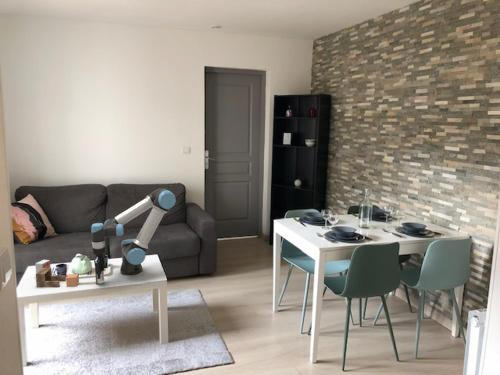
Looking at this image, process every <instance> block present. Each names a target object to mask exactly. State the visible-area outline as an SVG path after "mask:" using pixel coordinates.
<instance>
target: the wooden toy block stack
mask: <svg viewBox="0 0 500 375" xmlns="http://www.w3.org/2000/svg"><path fill="white" fill-rule="evenodd" d="M66 277H67V275H53V272H52V267H51V268H43V269H42V270H40V271H39V272H38V273H36V272H35V283H36V288H60V286H61V284H60V283H61V282H66Z"/></svg>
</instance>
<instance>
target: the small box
mask: <svg viewBox="0 0 500 375" xmlns="http://www.w3.org/2000/svg"><path fill="white" fill-rule="evenodd" d="M34 264H35V274H36V273H38V272H39V271H40V270H42V269H43V268H51V269H52V266H51V260H49V259H42V260H39V261H37V262H35V263H34Z"/></svg>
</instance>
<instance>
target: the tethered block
mask: <svg viewBox="0 0 500 375" xmlns="http://www.w3.org/2000/svg"><path fill="white" fill-rule="evenodd" d="M79 278H80V277H79V274H78V273H74V274H73V273H72V274H71V273H70V274H68V275H66V281H65V283H66V287H71V288H72V287H77V286H78V285H88V284H96V285H101V284H102V283H98V281H97V274H95V281H81V282H80V279H79Z"/></svg>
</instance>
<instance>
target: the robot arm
mask: <svg viewBox="0 0 500 375" xmlns="http://www.w3.org/2000/svg"><path fill="white" fill-rule="evenodd" d="M176 199H177V198H176V195H175V194H174V193H173V192H172V191H171V190H168V189H166V188H165V187H164V188H163V187H161V188H157V189H155V190H154V191H152V192H151V193H149V194H147V195H146V196H145V198H144V199H142V200H140V201H138V202H137V203H135V204H134V205H132V206H131V207H129V208H128V209H126V210H124V211H123V212H121V213H119V214H117V215H116V216H114V217H113V218H111V219H107V220H105V221H104V223H101V222H96V223H92V225H91V231H90V232H91V245H92V254H93V255H95V256H94V257H95V258H94V260H93V263H94V270H95V271H94V272H95V274H97V281H98V283H101V284H103V282H104V281H105V274H104V273H105V271H106V267H105V266H106V263H105V256H106V255H105V254H106V248H105V247H106V243H105V239H107V238H114V237H120V236H123V235H124V225H126V224H127V223H128V222H130V221H132V220H133V219H135V218H137V217H138V216H140V215H141V214H143V213H144V212H146V211H147V210H149V209H151V208H152V209H151V211H150V212H149V214H148V216H147V218H146V220H145V221H144V223H143V225H142V227H141V229H140V231H139V233H137V234H138V235H137V236H136V238H128V239H124V240H122V241H121V261H122V262H121V264H120V269H119V272H120V274H121V275H125V276H134V275H137V274H140V273H142V272H143V265H142V264H143V262H144V261H145V260H146V254H147V251H148V249H149V246H148V245H149V243H150V241H151V239H152V237H153V235H154V233H155V232H156V230H157V228H158V227H159V224H160V222H161V221H162V219H163V217H164V215H165V214H167V213H169V211H170V210H171V208H173V207H174V206H175V204H176V201H177V200H176Z"/></svg>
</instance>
